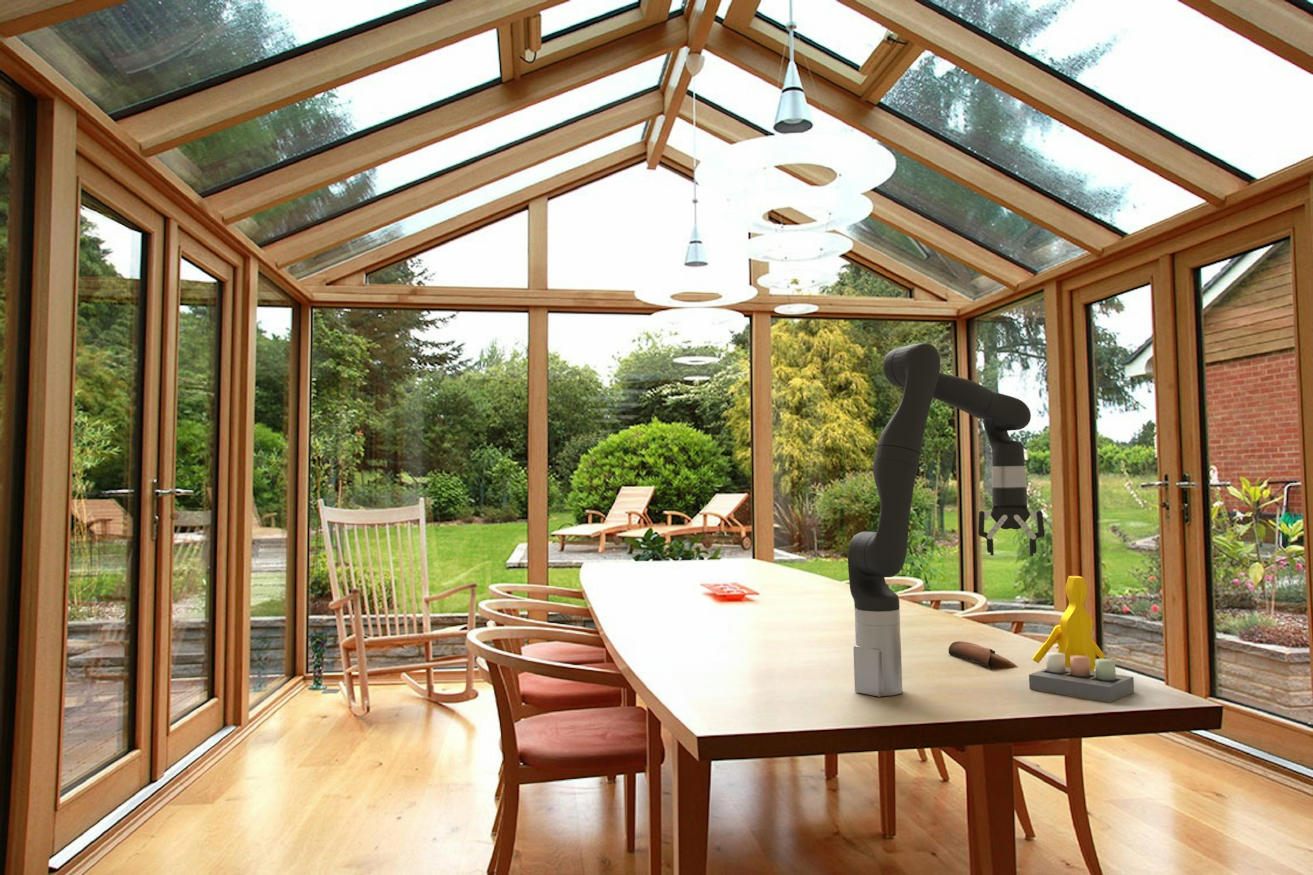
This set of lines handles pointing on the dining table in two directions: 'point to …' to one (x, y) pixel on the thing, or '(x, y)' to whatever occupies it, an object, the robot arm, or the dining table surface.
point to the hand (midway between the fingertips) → (1011, 555)
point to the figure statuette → (1073, 627)
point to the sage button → (1105, 669)
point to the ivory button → (1055, 662)
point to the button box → (1081, 685)
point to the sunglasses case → (980, 655)
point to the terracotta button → (1080, 665)
